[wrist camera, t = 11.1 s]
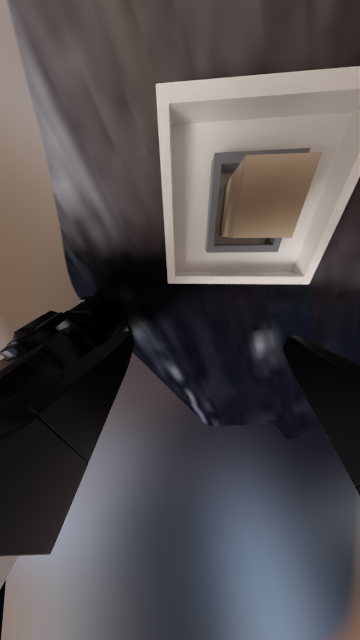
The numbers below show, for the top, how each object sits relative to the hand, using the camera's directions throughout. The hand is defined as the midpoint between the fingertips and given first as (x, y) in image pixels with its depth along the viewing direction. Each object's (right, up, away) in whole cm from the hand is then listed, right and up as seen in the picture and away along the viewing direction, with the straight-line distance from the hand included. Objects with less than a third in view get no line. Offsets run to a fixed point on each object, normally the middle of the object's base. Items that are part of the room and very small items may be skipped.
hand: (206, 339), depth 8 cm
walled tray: (+5, +12, +6) cm, 14 cm away
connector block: (+5, +12, +6) cm, 14 cm away
